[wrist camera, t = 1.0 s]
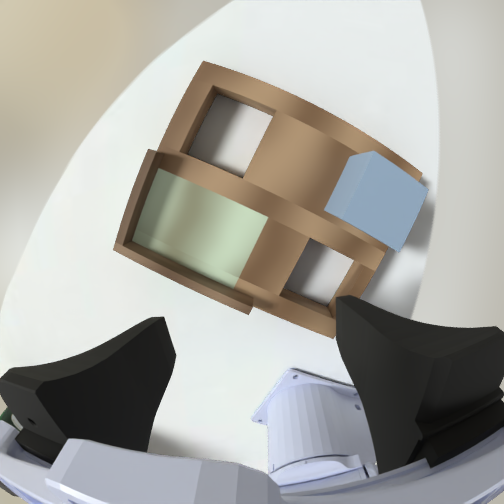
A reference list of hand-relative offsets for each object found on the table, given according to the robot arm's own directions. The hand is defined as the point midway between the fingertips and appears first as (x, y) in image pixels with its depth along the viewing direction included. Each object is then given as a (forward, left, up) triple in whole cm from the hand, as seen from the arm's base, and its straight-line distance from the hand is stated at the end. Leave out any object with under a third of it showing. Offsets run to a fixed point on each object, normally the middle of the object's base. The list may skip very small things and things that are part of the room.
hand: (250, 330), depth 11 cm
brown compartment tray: (+1, -5, -10) cm, 11 cm away
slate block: (-4, -8, -8) cm, 12 cm away
